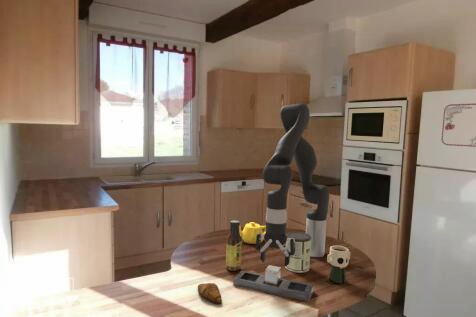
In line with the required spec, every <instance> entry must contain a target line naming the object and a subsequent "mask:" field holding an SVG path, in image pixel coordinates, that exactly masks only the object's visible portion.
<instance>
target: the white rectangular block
mask: <svg viewBox="0 0 476 317" xmlns="http://www.w3.org/2000/svg"><path fill="white" fill-rule="evenodd" d="M281 269H282V267H281V266H276V265H270V264H269V265H268V266H267V267H266V268H265V273H264V275H265V284H268V285H272V286H277V287H279V286H280V278H281V275H282V274H281V273H282V272H281V271H282V270H281Z"/></svg>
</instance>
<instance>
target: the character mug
mask: <svg viewBox="0 0 476 317" xmlns="http://www.w3.org/2000/svg"><path fill="white" fill-rule="evenodd" d="M350 259H351V251H350V249H349V248H347V247H346V246H343V245H331V246H330V247H329V254H327V258H326V262H327V263H329V264H330V265H331V267H330V271H329V280H331V281H332V282H334V283H336V284H342V283H346V281H347V277H346V276H347V274H346V267H347V266H348V265H349V261H350Z"/></svg>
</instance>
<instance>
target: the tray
mask: <svg viewBox="0 0 476 317" xmlns="http://www.w3.org/2000/svg"><path fill="white" fill-rule="evenodd" d="M232 285H233V286H236V287H239V288H240V287H241V288H244V289H249V290H254V291H258V292H259V291H260V292H262V293H269V294H271V295H277V296H280V297H286V298H289V297H290V298H289V299H294V300H297V301H303V300H304V302H310V301H311V298H312V296H313V293H314V284H310V283H304V282H301V281H297V280H296V281H294V280H290V279H285V278H281V277H280V286H279V287H277V286H272V285H268V284H265V274H260V273H256V272H250V271H245V270H240V272H238V274H237V275H235V277H234V278H233V284H232Z"/></svg>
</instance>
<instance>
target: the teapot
mask: <svg viewBox="0 0 476 317" xmlns="http://www.w3.org/2000/svg"><path fill="white" fill-rule="evenodd" d="M265 228H266V225H260V224H259V223H256V222H254V221H250V222H249V223H246V224H245V225H244V227H243V230H242V228H241V224H240V225H239V233H240V236H241V239H242V242H244V243H245V244H250V245H251V244H255V245H256V237H257V234H258V233H260V232H261V233H262V234H265V231H263V230H265ZM264 240H265V239H264V237H263V239H262V240H261V243H263V241H264Z"/></svg>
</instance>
